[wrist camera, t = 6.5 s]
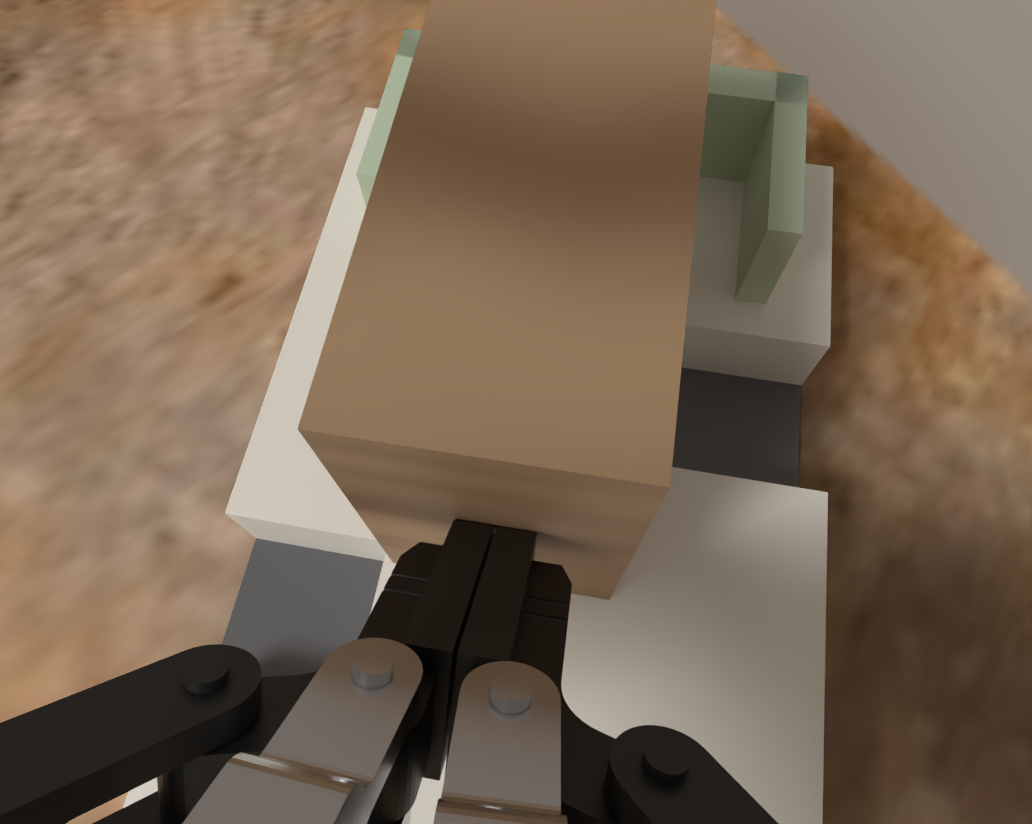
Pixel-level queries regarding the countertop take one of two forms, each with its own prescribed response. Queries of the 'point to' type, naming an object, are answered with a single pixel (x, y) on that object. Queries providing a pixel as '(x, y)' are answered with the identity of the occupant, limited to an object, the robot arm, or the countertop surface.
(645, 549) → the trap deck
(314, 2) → the countertop surface
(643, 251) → the walnut block
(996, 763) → the countertop surface
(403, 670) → the robot arm
